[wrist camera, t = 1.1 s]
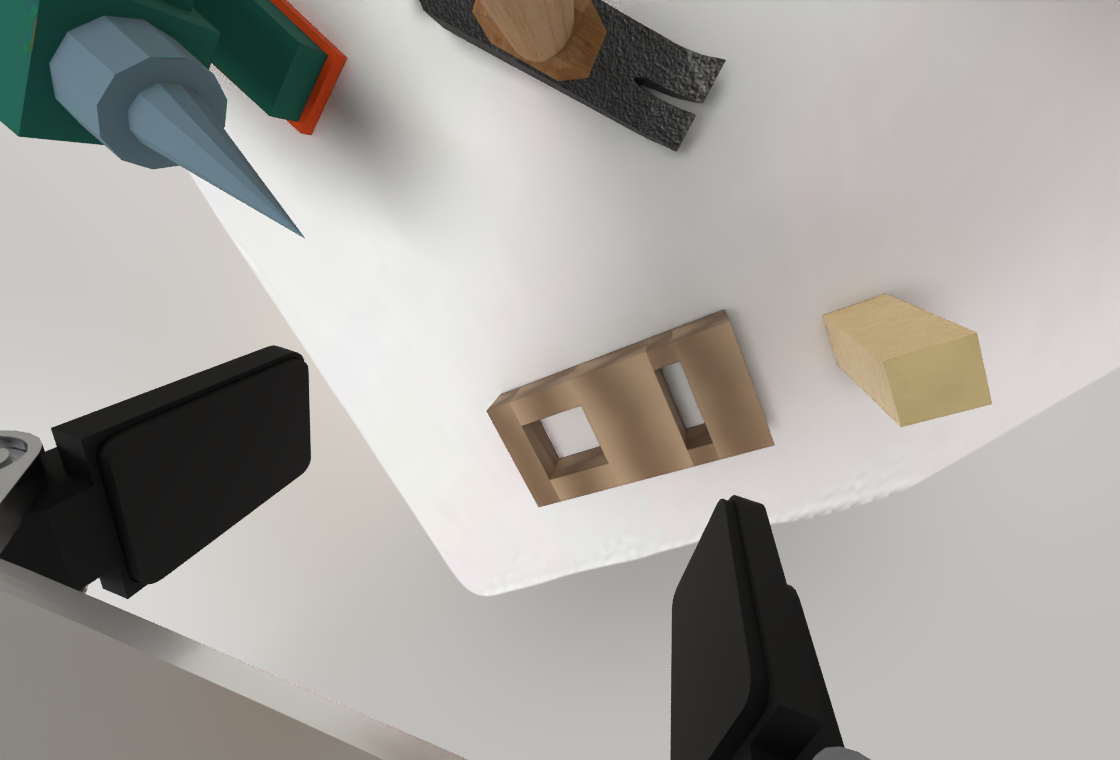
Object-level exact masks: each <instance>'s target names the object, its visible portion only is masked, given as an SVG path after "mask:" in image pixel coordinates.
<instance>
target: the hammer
mask: <svg viewBox="0 0 1120 760" xmlns="http://www.w3.org/2000/svg"><path fill="white" fill-rule="evenodd" d="M419 1H420V2H421V4H422V7H423V10H424V11H425V12H426V13H427V14H428V15H430V16H431V17H432V18H433V19H434V20H435V21H436V22H438V23H439V24H440V25H441V26H442V27H443V28H445V29H446V30H448V31H450V32H452V33H454V34H456V35H457V36H459V37H461V38H463V39H465V40H467V41H468V42H470V43H472V44H474V45H476V46H477V47H479V48H481V49H483V50H485V51H487V52H488V53H490V54H492V55H494V56H496V57H498V58H499V59H501V60H503V61H505V62H507V63H508V64H510V65H512V66H514V67H516V68H518V69H519V70H521V71H523V72H525V73H527V74H529V75H531V76H532V77H534V78H536V79H538V80H540V81H542V82H544V83H545V84H547V85H549V86H551V87H553V88H555V89H557V90H558V91H560V92H562V93H564V94H566V95H568V96H570V97H571V98H573V99H575V100H577V101H579V102H581V103H583V104H584V105H586V106H588V107H590V108H592V109H594V110H595V111H597V112H599V113H601V114H603V115H605V116H606V117H608V118H610V119H612V120H614V121H616V122H617V123H619V124H621V125H623V126H625V127H627V128H629V129H630V130H632V131H634V132H636V133H638V134H640V135H642V136H644V137H646V138H648V139H650V140H652V141H654V142H657V143H659V144H661V145H664V146H666V147H668V148H670V149H672V150H674V151H677V150H678V148H679V146H680V144H681V142H682V140H683V138H684V137H685V135H686V133H687V131H688V129H689V127H690V125H691V124H692V122H693V120H694V118H695V116H696V115H695V114H692V113H690V112H687V111H685V110H682V109H680V108H677V107H675V106H673V105H671V104H668V103H666V102H664V101H662V100H660V99H658V98H657V97H655V96H653V95H651V94H649V93H648V92H646V91H644V90H642V89H641V88H640V87H639V86H638V84H643V85H645V86H647V87H649V88H652V89H654V90H657V91H659V92H662V93H664V94H667V95H670V96H673V97H676V98H679V99H684V100H688V101H693V102H698V103H703V101H704V99H705V98H706V96H707V94H708V92H709V90H710V88H711V86H712V85H713V83H714V81H715V79H716V77H717V75H718V73H719V72H720V70H721V68H722V66H723V64H724V62H725V60H724V59H720V58H715V57H709V56H705V55H702V54H699V53H696V52H693V51H691V50H688V49H686V48H684V47H682V46H679V45H677V44H675V43H673V42H672V41H670V40H668V39H667V38H665V37H663V36H662V35H660V34H658V33H656V32H655V31H653V30H651V29H649V28H648V27H646V26H644V25H642V24H641V23H639V22H637V21H635V20H634V19H632V18H630V17H628V16H627V15H625V14H623V13H621V12H620V11H618V10H616V9H615V8H613V7H611V6H610V5H608V4H607V3H605V2H603V1H602V0H419Z"/></svg>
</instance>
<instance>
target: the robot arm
mask: <svg viewBox="0 0 1120 760" xmlns="http://www.w3.org/2000/svg"><path fill="white" fill-rule="evenodd" d="M51 430H52V433H53V436H54V439H55V442H56V445H57V447H56V448H53V449H51V450H48V451H46V452H45V451H44V448H43V445H42V443H41V441H40V439H39V438H38V437H36V436H34V435H32V434H30V433H25V432H19V431H0V760H467V759H465V758H463V757H460V756H458V755H456V754H454V753H452V752H449V751H447V750H445V749H442V748H440V747H438V746H436V745H433V744H431V743H429V742H426V741H424V740H422V739H419V738H417V737H415V736H413V735H410V734H408V733H406V732H404V731H401V730H399V729H397V728H395V727H392V726H390V725H388V724H386V723H383V722H381V721H379V720H376V719H374V718H372V717H370V716H367V715H365V714H363V713H361V712H358V711H356V710H354V709H351V708H349V707H347V706H345V705H342V704H340V703H338V702H335V701H333V700H331V699H328V698H326V697H324V696H322V695H319V694H317V693H315V692H312V691H310V690H308V689H305V688H303V687H301V686H298V685H296V684H294V683H291V682H289V681H287V680H285V679H282V678H280V677H277V676H275V675H273V674H271V673H268V672H266V671H264V670H262V669H259V668H257V667H254V666H252V665H250V664H247V663H245V662H243V661H241V660H238V659H236V658H234V657H231V656H229V655H226V654H224V653H222V652H220V651H218V650H215V649H213V648H211V647H208V646H206V645H204V644H201V643H199V642H197V641H194V640H192V639H190V638H187V637H185V636H183V635H180V634H178V633H176V632H173V631H171V630H169V629H167V628H164V627H162V626H159V625H157V624H155V623H152V622H150V621H148V620H145V619H143V618H141V617H138V616H136V615H134V614H131V613H129V612H127V611H124V610H122V609H119V608H117V607H115V606H112V605H110V604H108V603H105V602H103V601H101V600H98V599H96V598H93V597H91V596H89V595H87V594H85V593H86V591H87V587H88V584H90V583H91V582H93V581H94V580H96V579H97V578H100V580H101V584H102V587H103V589H105V590H108V591H110V592H112V593H115V594H118V595H120V596H122V597H124V598H126V599H129V598H130V597H131V596H133V595H134V594H135V593H137V592H138V591H139V590H141V589H142V588H143V587H145V586H146V585H147V584H153V583H156V582H158V581H159V580H161V579H163V578H164V577H165V576H167V575H168V574H169V573H171V572H172V571H173V570H175V569H176V568H177V567H179V566H180V565H181V564H183V563H184V562H185V561H187V560H188V559H189V558H191V557H192V556H193V555H195V554H196V553H197V552H199V551H200V550H201V549H203V548H204V547H205V546H207V545H208V544H209V543H211V542H212V541H213V540H215V539H216V538H217V537H219V536H220V535H221V534H223V533H224V532H225V531H227V530H228V529H229V528H231V527H232V526H233V525H235V524H236V523H237V522H239V521H240V520H241V519H243V518H244V517H245V516H247V515H248V514H249V513H251V512H252V511H253V510H255V509H256V508H257V507H259V506H260V505H261V504H263V503H264V502H265V501H267V500H268V499H269V498H271V497H272V496H273V495H275V494H276V493H277V492H279V491H280V490H281V489H283V488H284V487H285V486H287V485H288V484H289V483H291V482H292V481H293V480H295V479H296V478H297V477H299V476H300V475H301V474H303V473H304V472H305V470H306V469H307V468H308V466H309V464H310V460H311V445H310V410H309V373H308V365H307V364H306V363H305V362H304V359H303V357H302V355H300V354H299V353H297V352H294V351H291V350H288V349H285V348H282V347H278V346H269V347H266V348H263V349H261V350H258V351H255V352H252V353H250V354H248V355H244V356H242V357H239V358H237V359H234V360H231V361H228V362H226V363H223V364H220V365H218V366H215V367H213V368H210V369H207V370H204V371H202V372H199V373H196V374H194V375H191V376H189V377H186V378H183V379H180V380H178V381H175V382H172V383H170V384H167V385H165V386H162V387H159V388H156V389H154V390H151V391H149V392H146V393H143V394H140V395H138V396H135V397H132V398H130V399H127V400H124V401H122V402H119V403H117V404H114V405H111V406H109V407H106V408H103V409H101V410H98V411H95V412H92V413H90V414H87V415H84V416H82V417H79V418H77V419H74V420H71V421H68V422H66V423H63V424H61V425H58V426H55V427H52V428H51ZM671 665H672V666H671V668H672V669H671V760H870V759H869V758H867V757H865V756H863V755H862V754H860V753H859V752H857V751H853V750H850V749H847V748H845V747H844V744H843V741H842V737H841V734H840V731H839V728H838V724H837V721H836V718H835V714H834V711H833V708H832V705H831V701H830V698H829V695H828V691H827V688H826V685H825V681H824V678H823V675H822V672H821V669H820V665H819V662H818V658H817V656H816V652H815V649H814V645H813V642H812V639H811V635H810V632H809V629H808V626H807V622H806V619H805V616H804V612H803V609H802V606H801V602H800V599H799V597H798V594H797V592H796V590H795V589H794V588H793V587H792V586H790V585H787V583H786V579H785V576H784V572H783V569H782V565H781V562H780V558H779V555H778V551H777V548H776V544H775V541H774V537H773V534H772V530H771V526H770V523H769V519H768V516H767V512H766V509H765V507H764V505H763V504H760V503H757V502H754V501H751V500H748V499H745V498H742V497H739V496H736V495H733V496H732V497H731V498H730V499H729V500H725V499H720V500H719V502H718V503H717V505H716V507H715V509H714V512H713V514H712V516H711V518H710V520H709V522H708V524H707V526H706V528H705V530H704V532H703V534H702V536H701V539H700V541H699V543H698V545H697V547H696V549H695V551H694V553H693V555H692V557H691V559H690V562H689V564H688V566H687V568H686V570H685V572H684V574H683V576H682V578H681V580H680V582H679V584H678V586H677V589H676V591H675V594H674V599H673V604H672V664H671Z"/></svg>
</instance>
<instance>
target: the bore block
mask: <svg viewBox="0 0 1120 760" xmlns="http://www.w3.org/2000/svg"><path fill="white" fill-rule="evenodd" d="M679 361H680V362H681V364H682V367H683V369H684V372H685V374H686V377H687V379H688V382H689V384H690V387H691V389H692V392H693V394H694V397H695V399H696V402H697V404H698V407H699V409H700V412H701V414H702V417H703V419H704V421H705V424H702V425H698V426H695V427H691V428H688V429H685V426H684V424H683V421H682V419H681V417H680V414H679V412H678V409H677V407H676V405H675V402H674V400H673V397H672V395H671V393H670V390H669V388H668V385H667V383H666V381H665V378H664V376H663V374H662V371H661V369H660V368H662V367H665V366H667V365H670V364H673V363H676V362H679ZM578 406H582V409H583V411H584V413H585V415H586V417H587V419H588V421H589V423H590V425H591V427H592V429H593V432H594V434H595V436H596V438H597V440H598V442H599V444H600V447H597V448H593V449H590V450H587V451H583V452H580V453H577V454H574V455H570V456H567V457H564V458H560V459H559V458H558V456H557V454H556V452H555V450H554V448H553V446H552V444H551V442H550V440H549V438H548V436H547V434H546V432H545V430H544V428H543V426H542V424H541V422H540V419H543V418H546V417H549V416H552V415H555V414H558V413H561V412H564V411H566V410H569V409H572V408H575V407H578ZM487 413H488V415H489V417H490V418H491V420H492V422H493V424H494V426H495V428H496V429H497V431H498V433H499V435H500V437H501V439H502V441H503V442H504V444H505V446H506V448H507V450H508V452H509V453H510V455H511V457H512V459H513V461H514V463H515V465H516V466H517V468H518V470H519V472H520V474H521V476H522V477H523V479H524V481H525V483H526V485H527V487H528V489H529V490H530V492H531V494H532V496H533V498H534V500H535V501H536V503H537V505H538V507H542V506H546V505H549V504H553V503H557V502H561V501H565V500H568V499H572V498H576V497H580V496H584V495H587V494H591V493H595V492H599V491H603V490H606V489H610V488H614V487H618V486H621V485H625V484H629V483H633V482H637V481H640V480H644V479H648V478H652V477H656V476H659V475H663V474H667V473H671V472H675V471H678V470H682V469H686V468H690V467H694V466H697V465H701V464H705V463H709V462H713V461H716V460H720V459H724V458H728V457H732V456H735V455H739V454H743V453H747V452H750V451H754V450H758V449H762V448H766V447H769V446H773V445H775V444H774V441H773V439H772V436H771V433H770V430H769V428H768V425H767V422H766V419H765V417H764V414H763V411H762V408H761V406H760V403H759V400H758V397H757V394H756V392H755V389H754V386H753V383H752V381H751V378H750V375H749V372H748V370H747V367H746V364H745V361H744V359H743V356H742V353H741V350H740V348H739V345H738V342H737V339H736V336H735V334H734V331H733V328H732V325H731V323H730V320H729V318H728V316H727V314H726V312H725V310H722V311H719V312H717V313H714V314H711V315H709V316H706V317H704V318H701V319H698V320H696V321H693V322H690V323H688V324H685V325H682V326H680V327H677V328H674V329H672V330H669V331H667V332H664V333H661V334H659V335H656V336H653V337H651V338H648V339H645V340H643V341H640V342H638V343H635V344H632V345H630V346H627V347H624V348H622V349H619V350H616V351H614V352H611V353H609V354H606V355H603V356H601V357H598V358H595V359H593V360H590V361H587V362H585V363H582V364H580V365H577V366H574V367H572V368H569V369H566V370H564V371H561V372H558V373H556V374H553V375H550V376H548V377H545V378H543V379H540V380H537V381H535V382H532V383H529V384H527V385H524V386H521V387H519V388H516V389H514V390H511V391H508V392H506V393H503V394H501V395H500V396H499V397H498V398H497V399H496V400H495V402H494V403H493V404H492V405H491V406H490V407H489V409H488V410H487Z"/></svg>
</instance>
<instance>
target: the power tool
mask: <svg viewBox="0 0 1120 760" xmlns="http://www.w3.org/2000/svg"><path fill="white" fill-rule="evenodd" d="M346 59H347V57H346V56H344V55H343V54H342V53H341V52H340V51H339V50H338V49H337V48H336V47H335V46H334V45H333V44H332V43H331V42H330V41H329V40H328V39H326V38H325V37H324V36H323V35H322V34H321V33H320V32H319V31H318V30H317V29H316V28H315V27H314V26H313V25H312V24H311V23H310V22H309V21H307V20H306V19H305V18H304V17H303V16H302V15H301V14H300V13H299V12H298V11H297V10H296V9H295V8H294V7H293V6H292V5H291V4H290V3H288V2H287V1H286V0H0V121H1V122H2V123H3V124H5V125H6V126H7V127H8V128H9V129H11V130H12V131H13V132H14V133H15V134H16V135H17V136H19V137H29V138H39V139H49V140H59V141H69V142H79V143H90V144H99V145H105V146H106V147H107V148H109V149H110V150H111V151H112V152H113V153H114V154H116V155H117V156H118V157H119V158H120V159H121V160H123V161H127V162H130V163H133V164H137V165H140V166H143V167H147V168H150V169H158V168H165V167H172V166H179V165H180V166H181V167H183V168H185V169H187V170H188V171H190V172H192V173H193V174H195V175H197V176H199V177H200V178H202V179H204V180H205V181H207V182H209V183H211V184H212V185H214V186H216V187H218V188H219V189H221V190H223V191H224V192H226V193H228V194H230V195H231V196H233V197H235V198H236V199H238V200H240V201H242V202H243V203H245V204H247V205H248V206H250V207H252V208H254V209H255V210H257V211H259V212H260V213H262V214H264V215H266V216H267V217H269V218H271V219H272V220H274V221H276V222H278V223H279V224H281V225H283V226H284V227H286V228H288V229H290V230H291V231H293V232H295V233H296V234H298V235H300V236H302V237H303V238H304V236H303V235H302V234H301V232H300V231H299V230H298V228H297V227H296V225H295V224H294V223H293V221H292V220H291V219H290V217H289V216H288V215H287V213H286V212H285V211H284V209H283V208H282V207H281V205H280V204H279V203H278V201H277V200H276V199H275V197H274V196H273V194H272V193H271V192H270V190H269V189H268V188H267V186H266V185H265V184H264V182H263V181H262V180H261V178H260V177H259V176H258V174H257V173H256V172H255V170H254V169H253V167H252V166H251V165H250V163H249V162H248V161H247V159H246V158H245V157H244V155H243V154H242V153H241V151H240V150H239V149H238V147H237V146H236V145H235V143H234V142H233V141H232V139H231V138H230V136H229V135H228V134H227V132H226V131H225V130H224V127H225V119H226V108H227V99H226V97H225V95H224V93H223V91H222V89H221V87H220V85H219V83H218V81H217V79H216V77H215V75H214V74H213V73H212V72H211V71H209V67H210V64H211V63H212V64H213V65H214V66H215V67H217V68H218V69H219V70H220V71H221V72H222V73H223V74H224V75H225V76H226V77H227V78H229V79H230V80H231V81H232V82H233V83H234V84H235V85H236V86H237V87H238V88H239V89H241V90H242V91H243V92H244V93H245V94H246V95H247V96H248V97H249V98H250V99H252V100H253V101H254V102H255V103H256V104H257V105H258V106H259V107H260V108H261V109H262V110H264V111H265V112H266V113H267V114H268V115H269V116H272V117H277V118H281V119H286V120H287V121H288V122H289V123H290V124H291V125H292V126H293V127H295V128H296V129H297V130H298V131H299V132H300V133H302V134H307V135H311V134H312V132H313V130H314V128H315V126H316V124H317V122H318V119H319V117H320V115H321V113H322V111H323V109H324V106H325V104H326V102H327V100H328V98H329V96H330V94H331V91H332V89H333V87H334V85H335V83H336V81H337V79H338V76H339V74H340V72H341V70H342V68H343V66H344V64H345V61H346Z"/></svg>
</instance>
